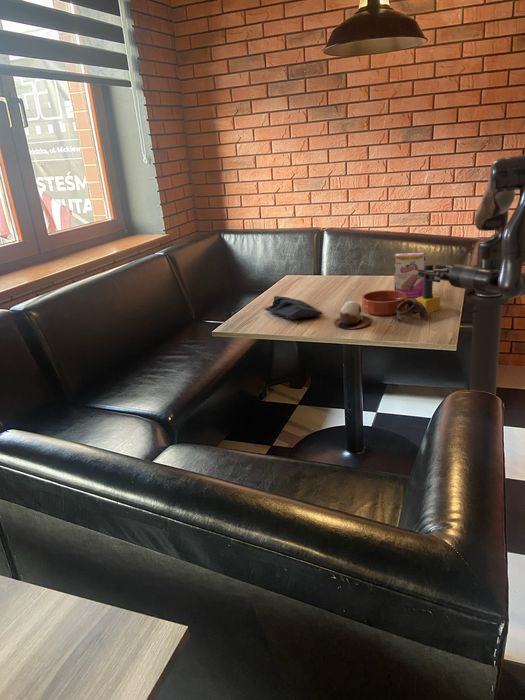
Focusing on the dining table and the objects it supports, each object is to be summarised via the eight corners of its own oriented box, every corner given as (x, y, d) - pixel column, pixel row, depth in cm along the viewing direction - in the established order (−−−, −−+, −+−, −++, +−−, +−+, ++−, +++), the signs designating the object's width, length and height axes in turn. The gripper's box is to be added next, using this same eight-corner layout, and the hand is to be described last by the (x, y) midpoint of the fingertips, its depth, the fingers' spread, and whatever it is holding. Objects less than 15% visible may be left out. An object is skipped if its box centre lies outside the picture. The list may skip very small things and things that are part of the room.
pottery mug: (431, 325, 172) (419, 306, 169) (404, 337, 176) (392, 318, 173) (429, 305, 181) (418, 287, 178) (404, 317, 186) (392, 299, 183)
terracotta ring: (379, 301, 202) (378, 288, 200) (415, 307, 190) (415, 293, 189) (353, 311, 192) (352, 298, 190) (390, 318, 181) (390, 304, 179)
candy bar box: (394, 299, 202) (393, 256, 197) (395, 295, 207) (394, 253, 201) (425, 298, 199) (425, 254, 193) (425, 294, 204) (425, 251, 198)
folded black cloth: (286, 324, 185) (285, 311, 183) (263, 309, 205) (261, 297, 203) (325, 315, 190) (324, 302, 188) (299, 302, 209) (298, 290, 208)
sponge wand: (428, 306, 190) (429, 261, 184) (440, 308, 186) (441, 263, 180) (414, 310, 187) (415, 265, 181) (426, 313, 183) (427, 267, 177)
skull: (341, 312, 188) (358, 292, 182) (362, 333, 186) (380, 314, 180) (325, 322, 179) (343, 301, 173) (347, 344, 177) (366, 324, 171)
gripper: (483, 261, 171) (441, 255, 184) (453, 269, 164) (412, 263, 177) (481, 284, 174) (441, 276, 186) (452, 293, 167) (412, 285, 180)
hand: (427, 270), depth 182 cm, fingers open, 8 cm apart
